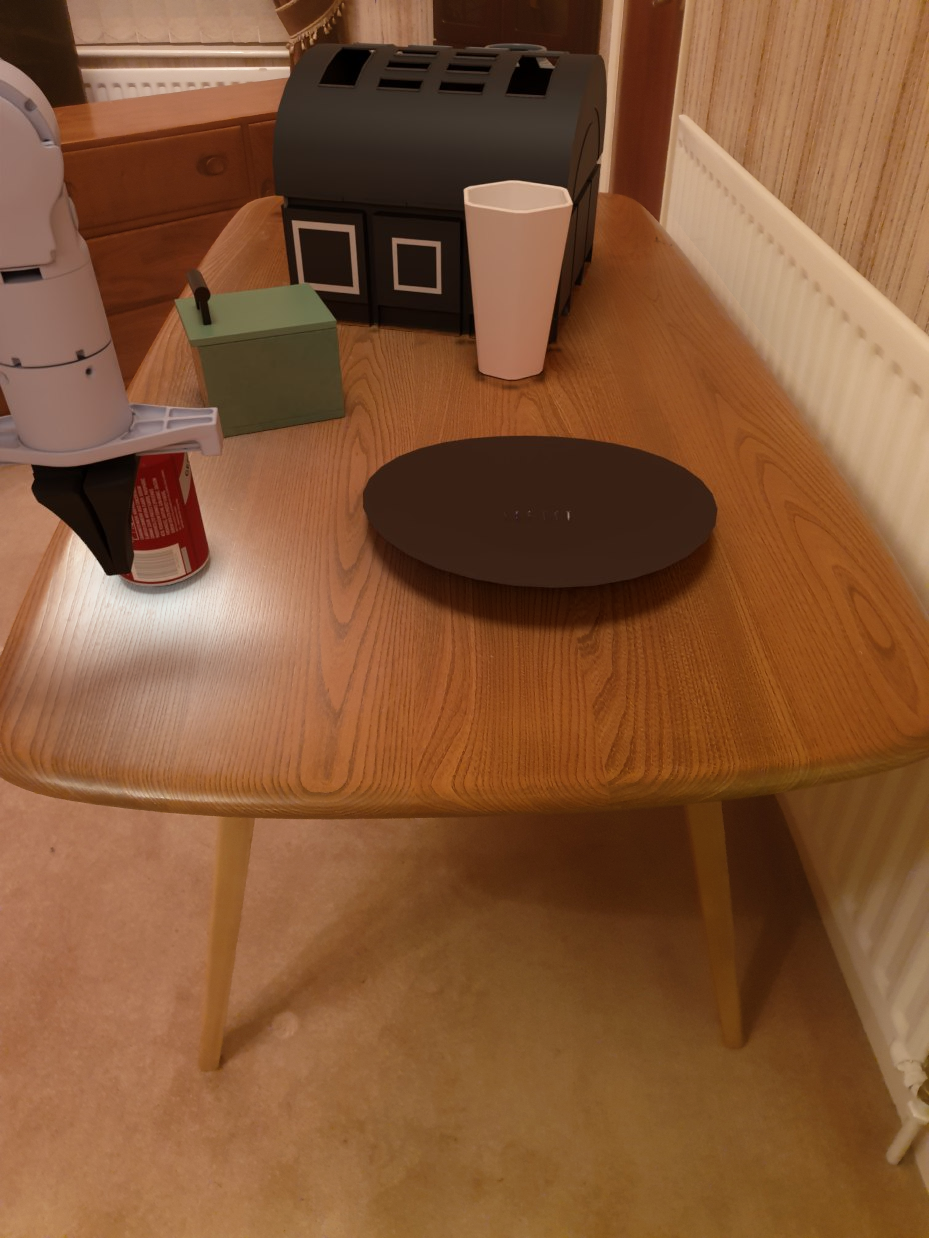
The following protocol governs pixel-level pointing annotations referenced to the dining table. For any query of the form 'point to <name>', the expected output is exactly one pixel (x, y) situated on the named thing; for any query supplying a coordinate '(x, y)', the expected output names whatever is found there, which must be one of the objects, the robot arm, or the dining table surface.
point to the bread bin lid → (249, 312)
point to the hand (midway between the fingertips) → (120, 565)
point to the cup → (515, 271)
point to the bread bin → (272, 380)
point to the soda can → (166, 522)
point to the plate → (540, 510)
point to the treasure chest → (427, 171)
